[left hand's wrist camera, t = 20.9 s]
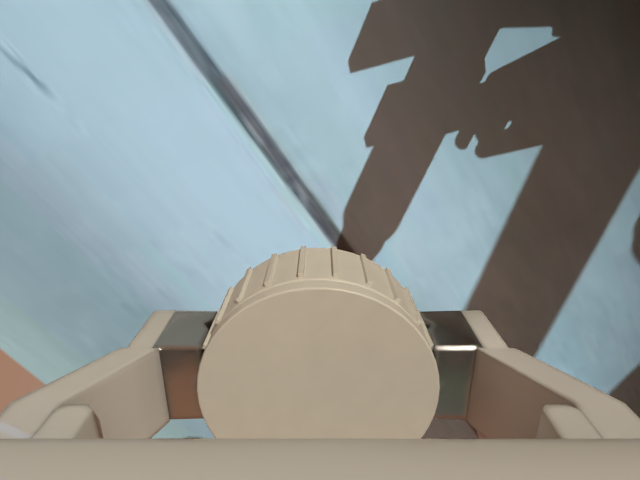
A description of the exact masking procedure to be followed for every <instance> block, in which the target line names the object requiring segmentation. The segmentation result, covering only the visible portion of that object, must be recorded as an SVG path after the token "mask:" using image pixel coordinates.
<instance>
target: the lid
mask: <svg viewBox="0 0 640 480" xmlns="http://www.w3.org/2000/svg"><path fill="white" fill-rule="evenodd" d="M433 348H434V344H433V342H432V340H431V337H430V335H429V333H428V331H427V328H426V326H425V323H424V321H423V319H422V317H421V314H420V312H419V310H417V308H416V306H415V303H414V301H413V299H412V296H411V294H410V291H409V289H408V288H407V287H405V288H403V287H402V286H401V285H400V283H399V282H398V281H397V280H396V279H395V278H394V277H393V276H392V273H391V270H390V269H389V268H386V269H383V268H382V267H381V266H379V265H378V264H376V263H374V262H372V261H370V260H369V259H367V258H366V255H365V254H362V253H361V255H360V256H359V255H357V254H354V253H351V252H347V251H342V250H338V249H337V247H336V246H332V247H331V249H329V248H307V249H306V246H302V247H301V249H300V250H294V251H290V252H287V253H283V254H280V255H278V256H277V254H276V253H275V254H272V256H271V258H270V259H268V260H266V261H265V262H263V263H261V264H259V265H258V266H256V267H255V268H254V269H252V268H251V267H250V268H248V269H247V271H246V274H245V276H244V277H243V278H242V279H241V280H240V281H239V282H238V283H237V285H236V286H235V287H234V288H233V287H230V288H229V290H228V292H227V294H226V297H225V299H224V301H223V303H222V306H221V308H220V310H218V312H217V314H216V317H215V319H214V321H213V323H212V326H211V328H210V330H209V332H208V334H207V337H206V339H205V341H204V343H203V346H202V349H205V350H204V353H203V356H202V359H201V361H200V365H199V370H198V375H197V393H198V401H199V405H200V409H201V412H202V415H203V417H204V420H205V422H206V424H207V426H208V428H209V429H210V431H211V432H212V434H213V435H214V437H215V438H216V439H421V438H422V437H423V435H424V434H425V432H426V431H427V429H428V427H429V426H430V424H431V421H432V419H433V417H434V415H435V411H436V408H437V404H438V399H439V390H440V383H439V372H438V368H437V363H436V360H435V357H434V355H433V352H432V350H433Z"/></svg>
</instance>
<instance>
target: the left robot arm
mask: <svg viewBox="0 0 640 480" xmlns="http://www.w3.org/2000/svg"><path fill="white" fill-rule="evenodd" d="M217 312H218V311H176V310H166V311H154V312H153V313H152V315H151V316H150V317H149V319H148V320H147V321H146V323H145V324H144V325H143V327H142V328H141V330H140V331H139V332H138V334H137V335H136V336H135V338H134V339H133V340H132V342H131V343H130V344H129V346H128V347H127V348H119V349H117V350H115V351H113V352H111V353H109V354H107V355H105V356H103V357H101V358H99V359H97V360H95V361H93V362H91V363H89V364H87V365H85V366H83V367H81V368H79V369H77V370H75V371H73V372H71V373H69V374H67V375H65V376H63V377H61V378H59V379H57V380H55V381H53V382H51V383H49V384H47V385H45V386H43V387H41V388H39V389H37V390H35V391H33V392H31V393H29V394H27V395H25V396H23V397H21V398H19V399H17V400H15V401H13V402H11V403H10V404H9V405H8V406H7V407H6V408H5V409H4V410H3V411H2V412H1V413H0V480H640V418H639V417H638V416H637V415H636V414H635V413H634V412H633V411H632V410H631V409H630V408H629V407H628V406H627V405H626V404H625V403H624V402H622V401H620V400H618V399H616V398H614V397H612V396H610V395H608V394H606V393H604V392H602V391H600V390H598V389H596V388H594V387H592V386H590V385H588V384H586V383H584V382H582V381H580V380H578V379H576V378H574V377H572V376H570V375H568V374H566V373H564V372H562V371H560V370H558V369H556V368H554V367H552V366H550V365H548V364H546V363H544V362H542V361H540V360H538V359H536V358H534V357H532V356H530V355H528V354H526V353H524V352H522V351H520V350H518V349H516V348H508V346H507V345H506V343H505V342H504V341H503V339H502V338H501V337H500V335H499V334H498V332H497V331H496V330H495V328H494V327H493V326H492V324H491V323H490V321H489V320H488V319H487V317H486V316H485V315H484V313H483V312H482V311H480V310H471V311H428V312H420V314H421V317H422V319H423V321H424V323H425V326H426V328H427V331H428V333H429V335H430V337H431V340H432V342H433V344H434V348H433V350H432V352H433V355H434V357H435V360H436V363H437V368H438V372H439V383H440V390H439V399H438V404H437V408H436V411H435V415H434V417H433V418H439V419H466V421H467V422H468V423H469V424H470V425H471V426H472V427H473V428H474V429H476V430H477V431H478V432H479V433H480V434H481V435H482V436H483V437H484V438H485V439H151V438H152V437H153V436H154V435H155V434H156V433H157V432H158V431H159V430H161V429H162V428H163V427H164V426H165V425H166V424H167V423H168V422H169V421H170V420H169V419H196V418H204V417H203V415H202V412H201V409H200V405H199V401H198V393H197V375H198V370H199V365H200V361H201V359H202V356H203V353H204V350H205V349H202V346H203V343H204V341H205V339H206V337H207V334H208V332H209V330H210V328H211V326H212V323H213V321H214V319H215V317H216V314H217Z"/></svg>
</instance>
